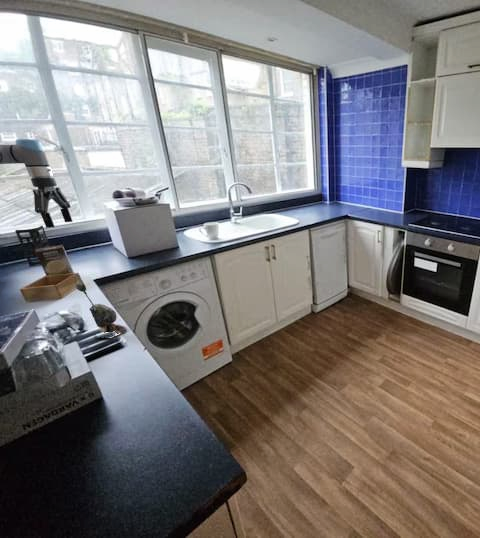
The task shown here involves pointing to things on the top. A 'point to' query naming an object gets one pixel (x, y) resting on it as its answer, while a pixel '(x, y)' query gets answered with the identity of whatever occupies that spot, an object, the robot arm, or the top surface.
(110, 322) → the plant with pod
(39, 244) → the holder
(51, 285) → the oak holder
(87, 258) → the top surface
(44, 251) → the coffee box
